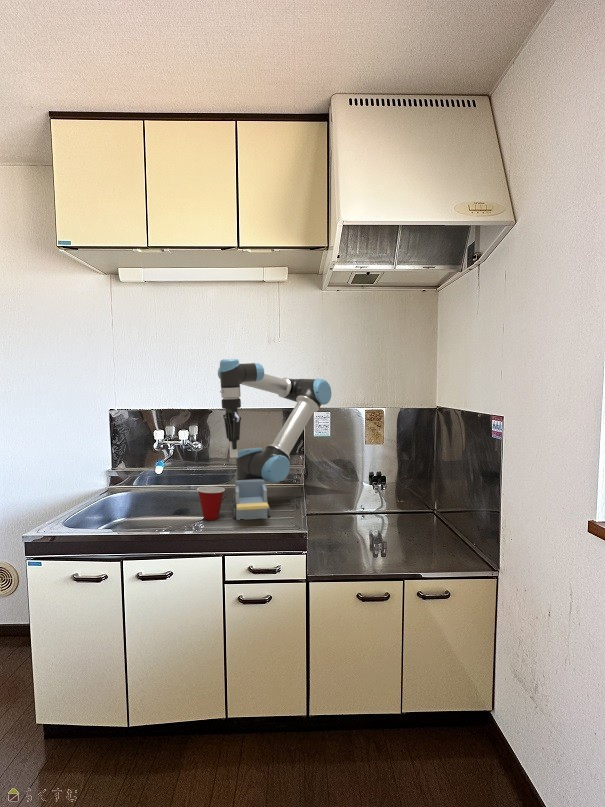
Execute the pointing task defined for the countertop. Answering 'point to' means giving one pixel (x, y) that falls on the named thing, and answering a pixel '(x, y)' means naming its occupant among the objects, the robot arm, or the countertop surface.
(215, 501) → the plastic cup
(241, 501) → the box
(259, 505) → the panel
